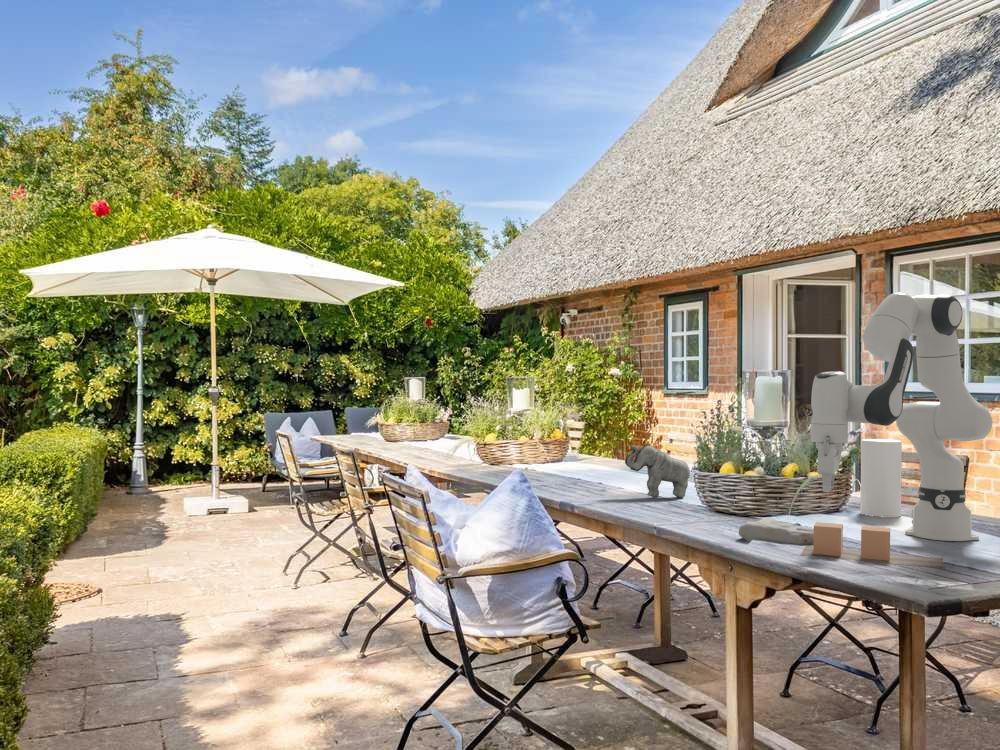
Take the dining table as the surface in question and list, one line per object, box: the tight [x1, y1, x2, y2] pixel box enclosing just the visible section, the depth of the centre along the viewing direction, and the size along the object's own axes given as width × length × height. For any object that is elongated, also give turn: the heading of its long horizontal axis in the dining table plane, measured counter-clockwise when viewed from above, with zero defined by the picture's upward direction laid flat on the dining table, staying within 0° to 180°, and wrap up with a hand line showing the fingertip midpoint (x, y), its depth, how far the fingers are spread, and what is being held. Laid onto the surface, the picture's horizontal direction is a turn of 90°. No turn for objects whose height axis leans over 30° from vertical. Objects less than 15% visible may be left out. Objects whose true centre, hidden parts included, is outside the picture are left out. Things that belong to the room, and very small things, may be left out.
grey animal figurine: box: [624, 444, 691, 499], centre depth 322 cm, size 25×9×20 cm, turn 100°
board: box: [800, 545, 945, 570], centre depth 212 cm, size 13×32×1 cm, turn 65°
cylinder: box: [859, 438, 903, 518], centre depth 288 cm, size 12×12×25 cm
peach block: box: [813, 521, 844, 556], centre depth 216 cm, size 6×6×7 cm
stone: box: [738, 518, 814, 545], centre depth 238 cm, size 21×15×5 cm
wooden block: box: [860, 525, 891, 561], centre depth 212 cm, size 6×6×7 cm
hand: (828, 490), depth 216 cm, fingers open, 8 cm apart
